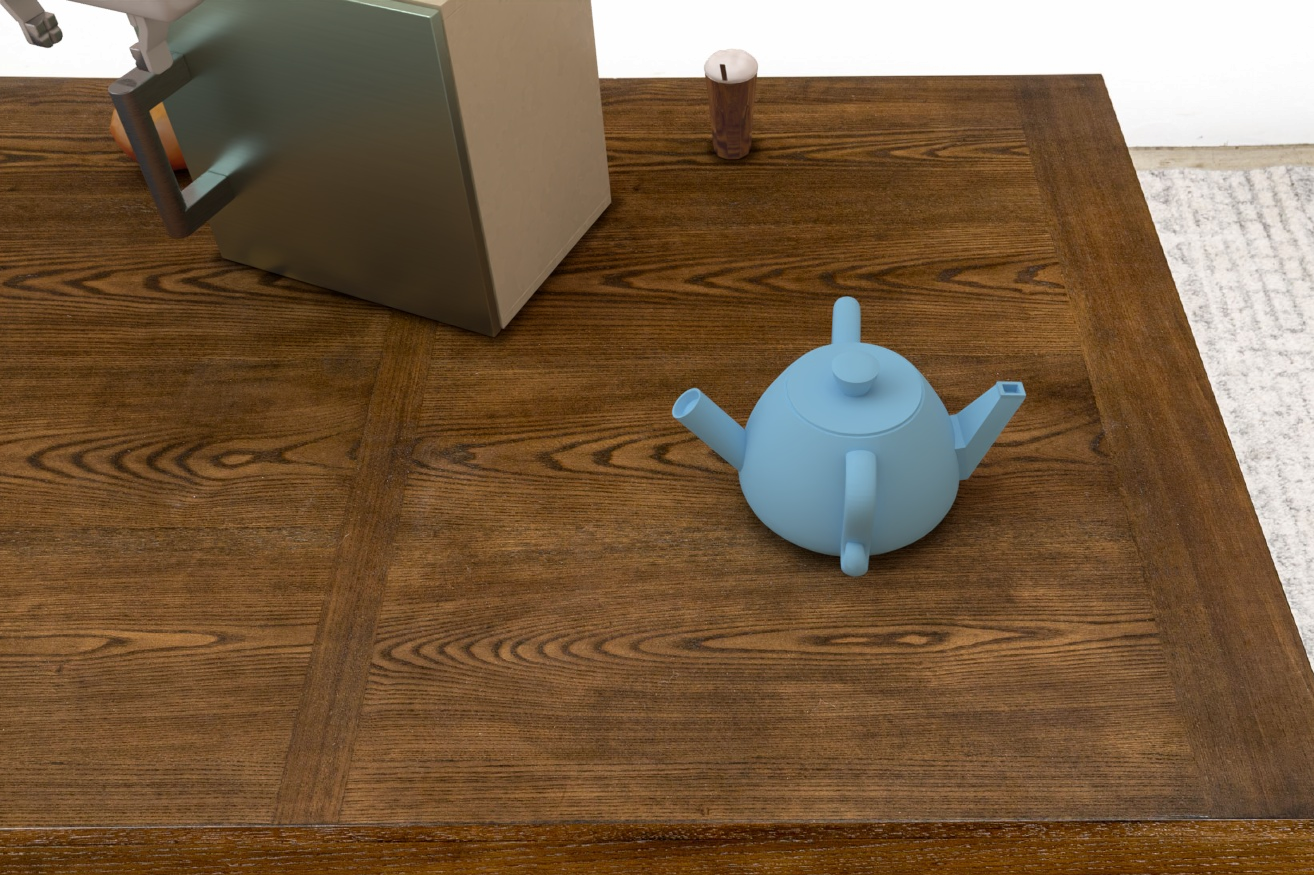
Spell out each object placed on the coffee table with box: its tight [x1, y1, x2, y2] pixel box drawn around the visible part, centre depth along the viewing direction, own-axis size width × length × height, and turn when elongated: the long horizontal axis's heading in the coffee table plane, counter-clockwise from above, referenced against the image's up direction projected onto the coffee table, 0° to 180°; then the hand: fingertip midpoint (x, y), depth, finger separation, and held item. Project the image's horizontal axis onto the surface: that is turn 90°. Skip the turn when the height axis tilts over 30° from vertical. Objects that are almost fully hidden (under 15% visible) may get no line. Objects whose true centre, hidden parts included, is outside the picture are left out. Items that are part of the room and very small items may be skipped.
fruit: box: [109, 102, 188, 171], centre depth 112 cm, size 8×8×8 cm
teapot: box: [671, 296, 1027, 578], centre depth 81 cm, size 15×17×11 cm
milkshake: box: [703, 48, 759, 160], centre depth 109 cm, size 4×5×10 cm
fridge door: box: [107, 0, 502, 338], centre depth 89 cm, size 7×26×26 cm, turn 66°
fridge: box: [392, 0, 612, 330], centre depth 97 cm, size 18×26×26 cm
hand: (101, 55), depth 84 cm, fingers open, 8 cm apart
